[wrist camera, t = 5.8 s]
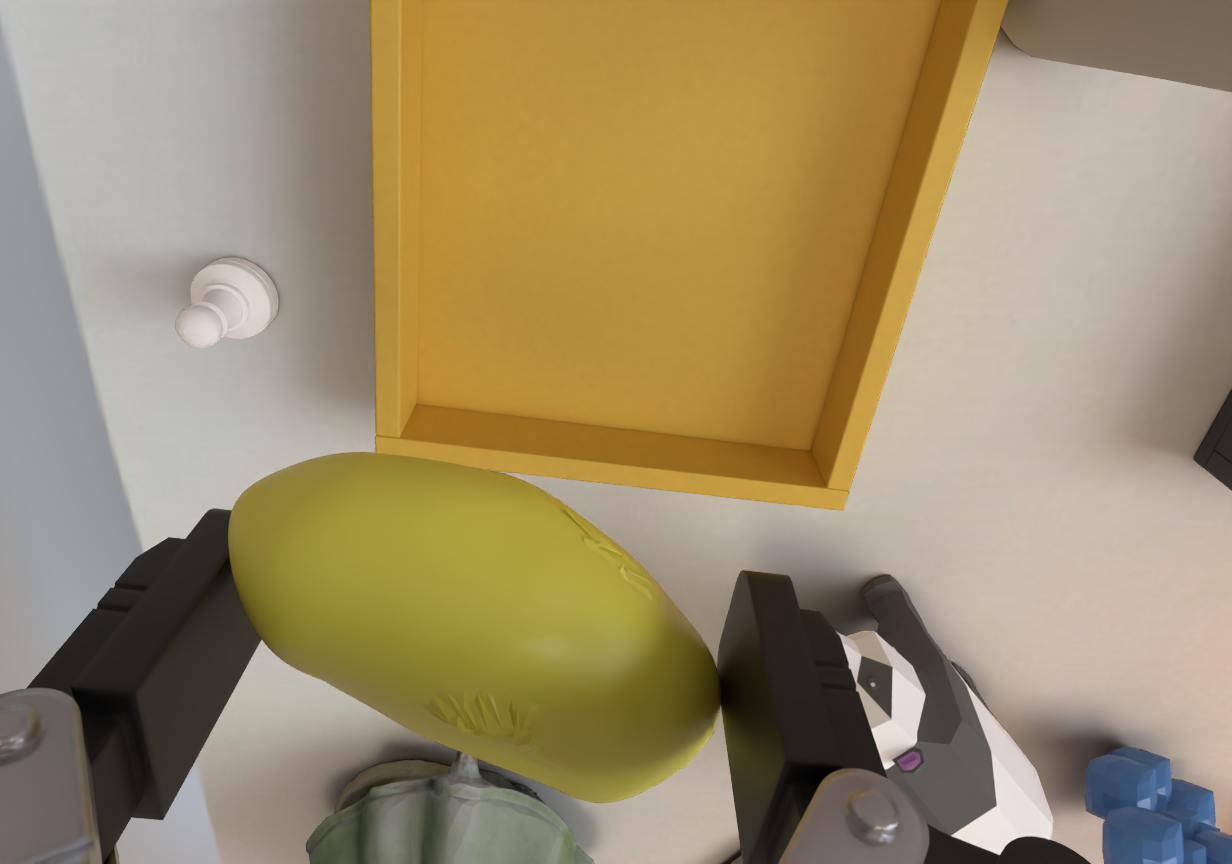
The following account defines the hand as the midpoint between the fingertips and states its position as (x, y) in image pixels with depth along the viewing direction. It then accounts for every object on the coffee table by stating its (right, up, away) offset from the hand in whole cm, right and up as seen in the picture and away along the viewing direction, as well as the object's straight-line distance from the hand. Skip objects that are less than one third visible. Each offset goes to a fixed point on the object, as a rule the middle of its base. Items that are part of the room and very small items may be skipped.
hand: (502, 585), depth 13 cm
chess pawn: (-11, +7, +14) cm, 19 cm away
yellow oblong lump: (0, +1, +1) cm, 1 cm away
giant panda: (+13, -6, +21) cm, 26 cm away
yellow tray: (+3, +10, +12) cm, 16 cm away
